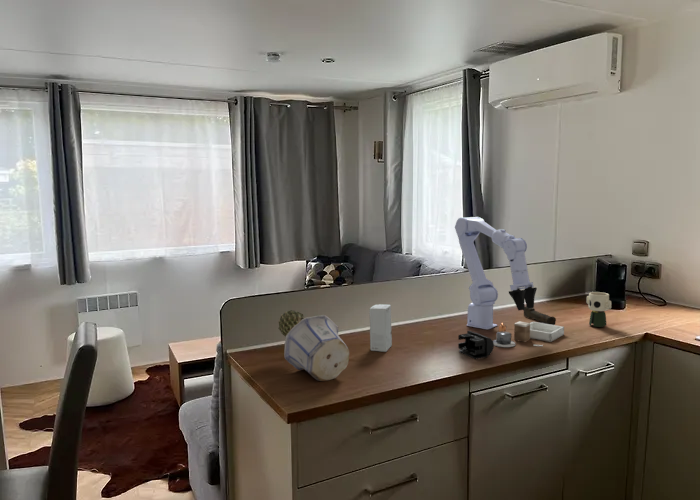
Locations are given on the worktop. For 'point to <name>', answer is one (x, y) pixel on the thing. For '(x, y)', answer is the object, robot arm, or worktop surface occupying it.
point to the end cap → (475, 345)
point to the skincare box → (380, 327)
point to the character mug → (598, 308)
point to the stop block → (522, 331)
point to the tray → (545, 331)
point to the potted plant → (313, 345)
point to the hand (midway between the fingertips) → (526, 309)
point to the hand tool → (539, 316)
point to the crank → (503, 335)
